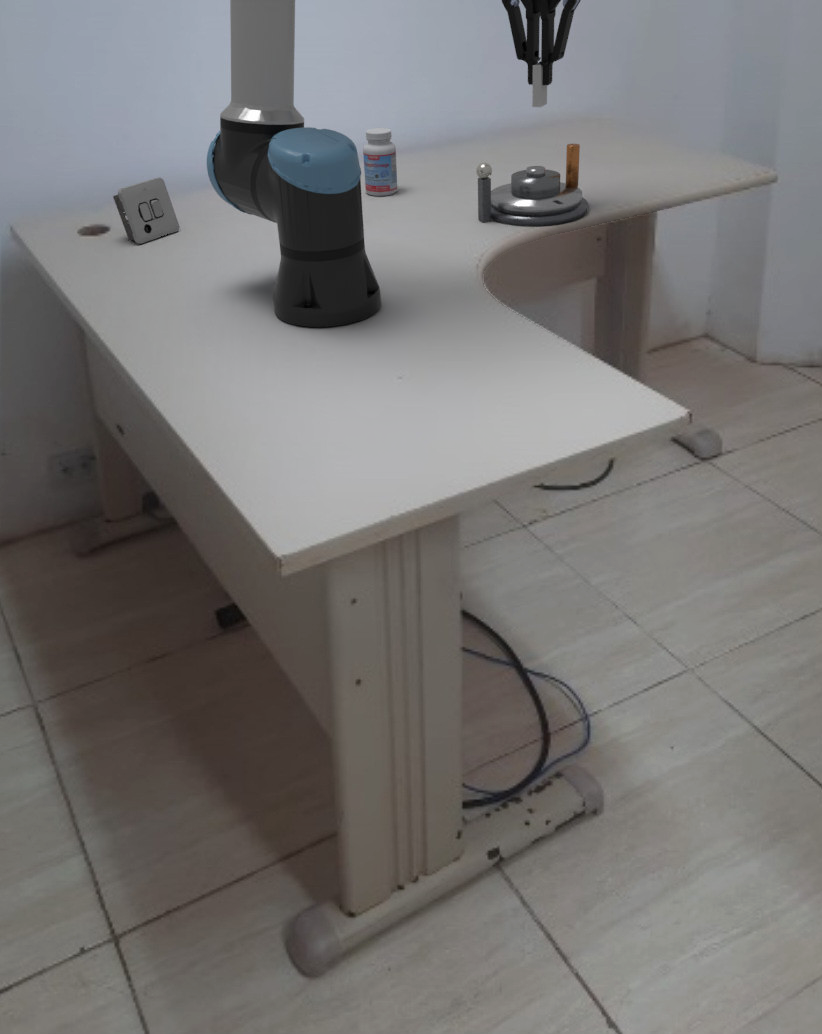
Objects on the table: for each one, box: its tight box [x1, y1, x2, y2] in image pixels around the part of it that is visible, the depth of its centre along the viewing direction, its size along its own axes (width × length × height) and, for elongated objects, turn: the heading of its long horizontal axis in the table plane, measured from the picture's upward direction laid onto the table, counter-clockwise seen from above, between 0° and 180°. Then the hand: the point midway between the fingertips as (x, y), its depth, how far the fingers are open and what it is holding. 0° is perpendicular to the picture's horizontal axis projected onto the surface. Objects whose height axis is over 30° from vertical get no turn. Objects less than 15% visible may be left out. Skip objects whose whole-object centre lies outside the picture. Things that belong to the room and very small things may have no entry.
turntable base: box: [491, 196, 589, 227], centre depth 185 cm, size 18×18×1 cm
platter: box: [491, 143, 583, 215], centre depth 182 cm, size 16×17×8 cm
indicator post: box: [476, 162, 493, 223], centre depth 179 cm, size 3×3×10 cm
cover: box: [510, 165, 561, 200], centre depth 183 cm, size 8×8×4 cm
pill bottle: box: [362, 127, 398, 197], centre depth 197 cm, size 6×6×11 cm
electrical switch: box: [112, 177, 180, 245], centre depth 181 cm, size 9×5×9 cm, turn 141°
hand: (539, 105), depth 178 cm, fingers closed
